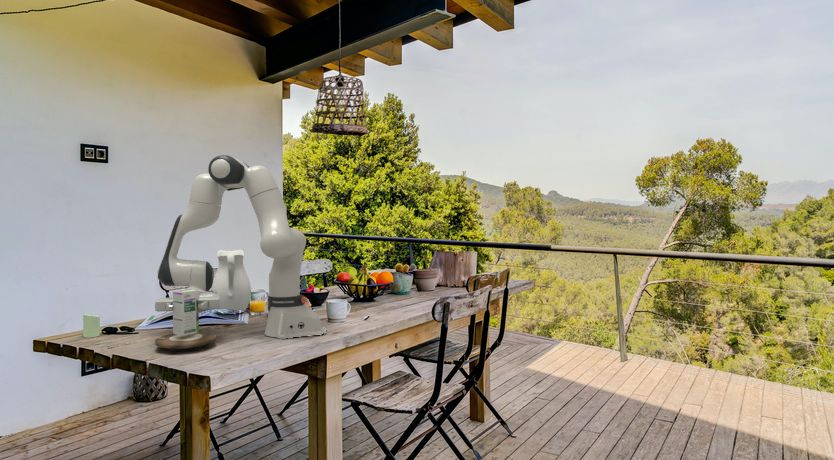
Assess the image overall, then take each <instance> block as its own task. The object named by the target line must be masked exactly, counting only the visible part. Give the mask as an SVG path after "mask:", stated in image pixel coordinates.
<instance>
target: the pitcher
mask: <svg viewBox="0 0 834 460" xmlns="http://www.w3.org/2000/svg"><path fill="white" fill-rule="evenodd" d="M216 256H217V259H218V267H217V270H216V272H215V273H214V278H213V284H212V288H211V289H210V291H217V294H218V295H219V296H220V308H219V309H233V310H242V311H245V312H246V310H247V308H248V306H249V304H250V301H251V297H252V287H251V282H250V278H249V276H248V274H247V271H246V269H245V265H244V257H245V252H244V251H243V250H242V249H235V250H224V249H219V250H218V251H217V253H216Z"/></svg>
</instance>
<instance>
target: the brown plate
mask: <svg viewBox="0 0 834 460" xmlns="http://www.w3.org/2000/svg"><path fill="white" fill-rule="evenodd" d="M216 339H217V338H216V334H215V333H213V332H211V331H199V332H198V333H195V334H190V335H185V336H181V335H176V334H173V333H169V334H164V335H161V336H159V337H157V338H156V339H155V344H154V345H155V346H156V347H159V348H163V349H169V348H188V347H196V346H201V345H203V346H205V345H208V344H211V343H213V342H214V341H216Z"/></svg>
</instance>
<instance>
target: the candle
mask: <svg viewBox="0 0 834 460" xmlns="http://www.w3.org/2000/svg"><path fill="white" fill-rule="evenodd" d="M82 314H83V313H82ZM82 317H83V318H82V327H83V328H82V330H83V332H82V334H83V338H84V339H86V338H88V339H89V338H97V337H100V336H101V335H100V334H101V329H100V328H101V319H100V318H101V317H100V316H99V315H93V314H87V313H84V314H83V315H82Z"/></svg>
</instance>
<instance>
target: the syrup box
mask: <svg viewBox="0 0 834 460" xmlns="http://www.w3.org/2000/svg"><path fill="white" fill-rule="evenodd" d="M172 298H173V311H172V329H173V330H172V334H176V335H181V336H185V335H190V334H195V333H198V332H199V329H200V327H199V325H200V323H199V322H200V321H199V319H200V318H199V314H200V312H199V310H198V308H199V307H198V304H199V291H198V290H197V289H186V288H183V289H175V290H172Z"/></svg>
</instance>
